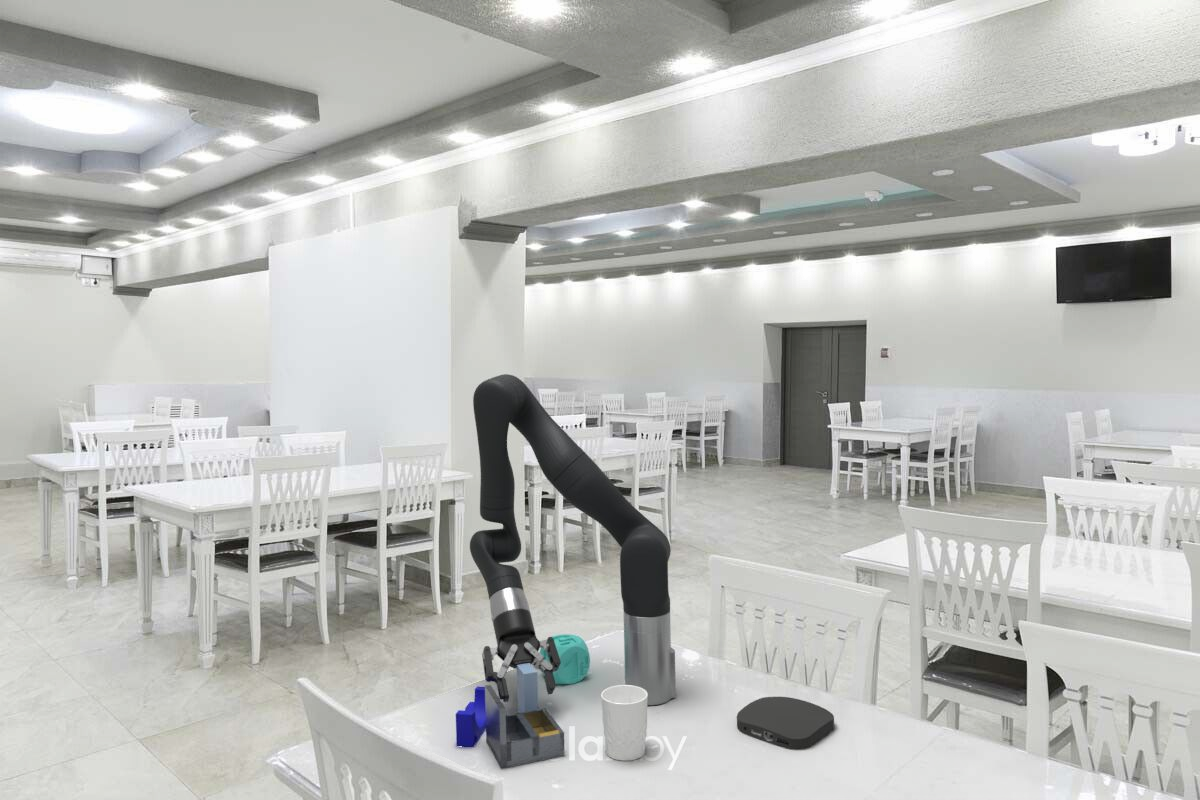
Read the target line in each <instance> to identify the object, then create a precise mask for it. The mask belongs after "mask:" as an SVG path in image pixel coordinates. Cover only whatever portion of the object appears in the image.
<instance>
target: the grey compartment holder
mask: <svg viewBox="0 0 1200 800" xmlns="http://www.w3.org/2000/svg"><path fill="white" fill-rule="evenodd" d="M484 687H485V711H486V729H485V737H486V739H485V740H486V741H485V742H486V743H487V745H488V747H489V749H490V751H491V753H492V755H493V757H494V758H495V760H496V762H497V765H498V766H499V767H500V770H502V769H506V768H507V769H508V768H511V767H512V768H513V767H516V766H520V765H526V764H531V763H535V762H541V761H545V760H550V759H555V758H560V757H565V756H566V755H565V754H566V753H565V750H566V749H565V732H564V731H563V729H562V728H561V726H560V725H559V724H558V722H557V721H556V720H555V719H554V717H553V716H552V715H551V713H550V712H549V711H548V709H547V708H545V707H544V708H538V710H533V711H527V712H522V713H518V712H517V713H512V714H506V707H505V705H504V703H503V702H502V699H500V697H499V695H498V694H497V692H496V691H495V690H494V687H493V686H492V685H491V684H485V685H484ZM492 687H493V688H492Z"/></svg>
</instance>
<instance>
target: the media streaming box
mask: <svg viewBox="0 0 1200 800" xmlns="http://www.w3.org/2000/svg"><path fill="white" fill-rule="evenodd" d="M736 728H737V730H738V731H739V732H741V733H742V734H744V735H746V736H748V737H752V738H754V739H756V740H757V739H758V740H760V741H763V742H766V743H769V744H771V745H775V746H777V747H780V748H784V749H788V750H795V751H798V750H800V751H801V750H806V749H809V748H812V747H814V746H815V745H816V744H818V743H819V742H820V741H822V740H823V739H825V738H826V737H827V736H828V735H829V734H831V733H832V732H833V731H834V730H835V715H833V713H832V712H830V711H829V710H828V709H826V708H824V707H822V706H821V705H818V704H814V703H812V702H809V701H807V700H802V699H799V698H794V697H789V696H766V697H765V696H764V697H760V698H758V699H755V700H753V701H752V702H749V703H748V704H747V705H745V706H744V707H743V708H741V709H740V710H739V711H738V712H737V714H736Z"/></svg>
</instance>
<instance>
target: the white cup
mask: <svg viewBox="0 0 1200 800" xmlns="http://www.w3.org/2000/svg"><path fill="white" fill-rule="evenodd" d="M600 696H601V697H600V700H601V711H602V712H601V713H602V715H601V716H602V725H603V735H604V743H605V746H604V747H605V753H606V754H607V756H608V757H609V758H611V759H613V760H615V761H624V762H626V761H635V760H637V759H638V760H639V759H641V758H642V757H643V756H644V755H645V753H646V738H647V729H648V727H647V726H648V705H647V700H648V693H647V692H646V690H644V689H643V688H640V687H637V686H632V685H625V684H618V685H614V686H613V685H612V686H609V687H607V688H605V689H604V690H603V691H602V692H601V693H600Z"/></svg>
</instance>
